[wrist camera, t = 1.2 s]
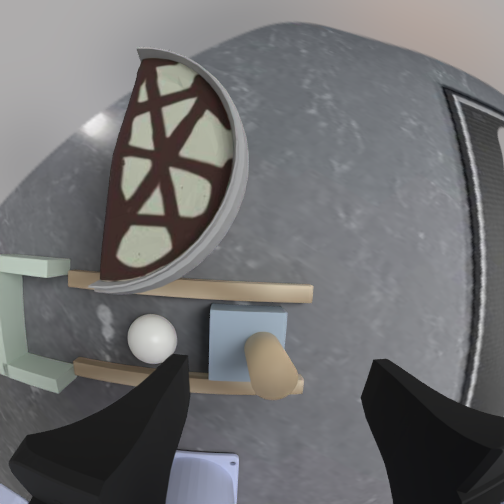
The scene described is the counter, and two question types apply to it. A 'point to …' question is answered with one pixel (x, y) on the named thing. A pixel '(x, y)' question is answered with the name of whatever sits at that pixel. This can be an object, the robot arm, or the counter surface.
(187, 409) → the robot arm
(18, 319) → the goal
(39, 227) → the counter surface
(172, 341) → the ball
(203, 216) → the food container
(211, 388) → the lane
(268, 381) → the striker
